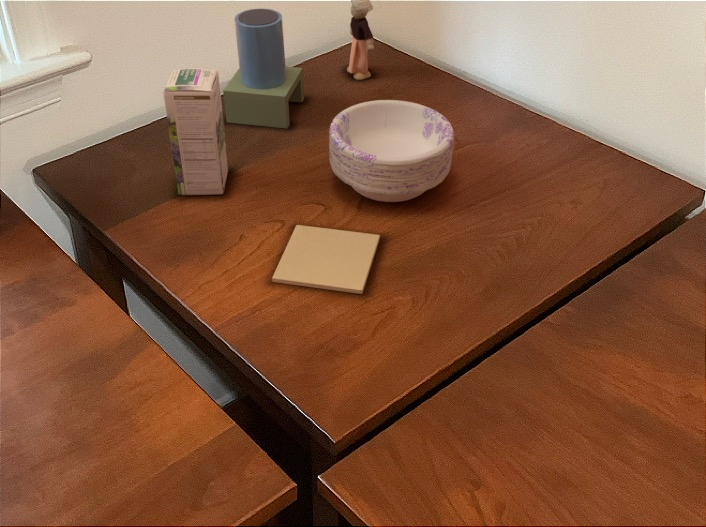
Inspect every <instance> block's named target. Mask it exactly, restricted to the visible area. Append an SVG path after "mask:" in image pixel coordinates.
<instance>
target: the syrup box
mask: <svg viewBox="0 0 706 527" xmlns="http://www.w3.org/2000/svg"><path fill="white" fill-rule="evenodd" d="M163 99H164V100H163V101H164V105H165V114H166V120H167V127H168V134H169V141H170V147H171V153H172V161H173V168H174V173H175V174H174V175H175V180H176V187H177V194H178V195H179V196H206V195H207V196H208V195H211V196H212V195H224V193H225V190H226V189H225V188H226V183H227V180H228V179H227V178H228V174H229V161H228V152H227V150H228V149H227V143H226V142H227V140H226V132H225V121H224V113H223V105H222V104H223V103H222V94H221V85H220V76H219V70H217V69H207V68H195V67H194V68H190V67H189V68H178V69H177V68H176V69H171V72H170V74H169V77H168V80H167V82H166V85H165V87H164V91H163Z"/></svg>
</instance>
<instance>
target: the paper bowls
mask: <svg viewBox="0 0 706 527" xmlns="http://www.w3.org/2000/svg"><path fill="white" fill-rule="evenodd" d="M328 141H329V143H328V152H329V153H328V155H329V156H328V157H329V164H330V168H331V170H332V172H333V173H334V175H335V176H336V177H337V178H338V179H339V180H341V181H342V182H343V183H344V184H347V185H348V186H351V188H352V189H353V190H354V191H355V192H357V193H358V194H359V195H361V196H363V197H365V198H367V199H370V200H373V201H377V202H384V203H398V202H399V203H400V202H405V201H409V200H413V199H415V198H417V197H419V196H421V195H422V194H423V193H425V192H427V191H428V190H430V189H433V188H435V187H437V186H438V185H439V184H441V183H442V182H443V181H444V180H445V179H446V177H447V176H448V175H449V173H450V170H451V166H452V160H453V150H454V143H455V132H454V127H453V126H452V124H451V122H450V121H449V120H448V118H447V117H445V116H444V115H443V114H442V113H440V112H438V111H437V110H435V109H433V108H431V107H428V106H426V105H423V104H421V103H416V102H413V101H406V100H399V99H379V100H370V101H363V102H360V103H357V104H353V105H351V106H349V107H347V108H345V109H343V110H341V111H340V112H338V114H336V116H334V118H333V119H332V121H331V122H330V125H329V130H328Z"/></svg>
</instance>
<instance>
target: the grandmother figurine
mask: <svg viewBox="0 0 706 527" xmlns="http://www.w3.org/2000/svg"><path fill="white" fill-rule="evenodd" d="M350 3H351V6H350V14H351V16H352V17H351V18H350V23H349V34H350V35H351V36H352V40H351V48H350V55H349V63H348V64H349V65H348V66H347V68H346V71H347V73H349V74H353V78H354V79H355V80H358V81H361V80H362V81H363V80H365V79H368V78H371V76H372V74H371V72H370V70H369V62H368V53H369V52H372V51H374V50H375V46H374V35H373V33H372V30H371V28H370V26H369V21H368V20H367V15H368V13H369V12H371V11H373V9H374V5H373V3H372V2H371V0H350Z"/></svg>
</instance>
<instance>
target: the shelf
mask: <svg viewBox="0 0 706 527" xmlns="http://www.w3.org/2000/svg"><path fill="white" fill-rule="evenodd" d="M285 67H286V80H285V82H284V83H283V84H281V85H279V86H277V87H274V88H269V89H253V88H249V87H247V86H245V85H243V84H242V82H241V77H240V67H239V68H238V69H237V71H236V72H235V73H234V75H233V76H232V78H230V80H229V81H228V83H227V85H225V87H224V89H223V90H222V94H223V102H224V110H225V111H224V112H225V119H226V123H229V124H239V125H248V126H249V125H250V126H257V127H267V128H277V129H278V128H279V129H287V130H288V128H289V127H290V125H291V122H290V107H289V106H290V105H289V102H293V103H301V104H302V103H303V101H304V100H305V92H304V73H303V72H304V71H303V70H304V68H303V67H296V66H285Z"/></svg>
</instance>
